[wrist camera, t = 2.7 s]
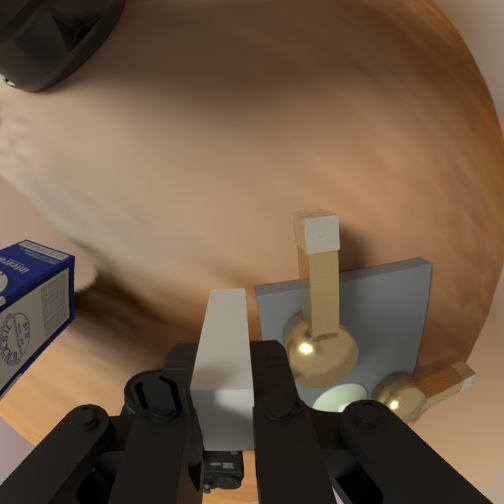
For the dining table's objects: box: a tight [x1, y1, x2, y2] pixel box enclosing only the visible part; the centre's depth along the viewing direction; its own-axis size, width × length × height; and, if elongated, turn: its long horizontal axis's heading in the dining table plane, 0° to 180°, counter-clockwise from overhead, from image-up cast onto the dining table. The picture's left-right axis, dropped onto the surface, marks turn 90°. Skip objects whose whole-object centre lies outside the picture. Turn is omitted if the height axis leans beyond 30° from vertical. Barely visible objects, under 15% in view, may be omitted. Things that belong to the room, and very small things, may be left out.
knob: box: [282, 209, 359, 389], centre depth 18 cm, size 12×5×4 cm, turn 7°
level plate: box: [255, 257, 432, 412], centre depth 25 cm, size 28×16×3 cm, turn 7°
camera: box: [120, 370, 244, 493], centre depth 21 cm, size 14×11×10 cm
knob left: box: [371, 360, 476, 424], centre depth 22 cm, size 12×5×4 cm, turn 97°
